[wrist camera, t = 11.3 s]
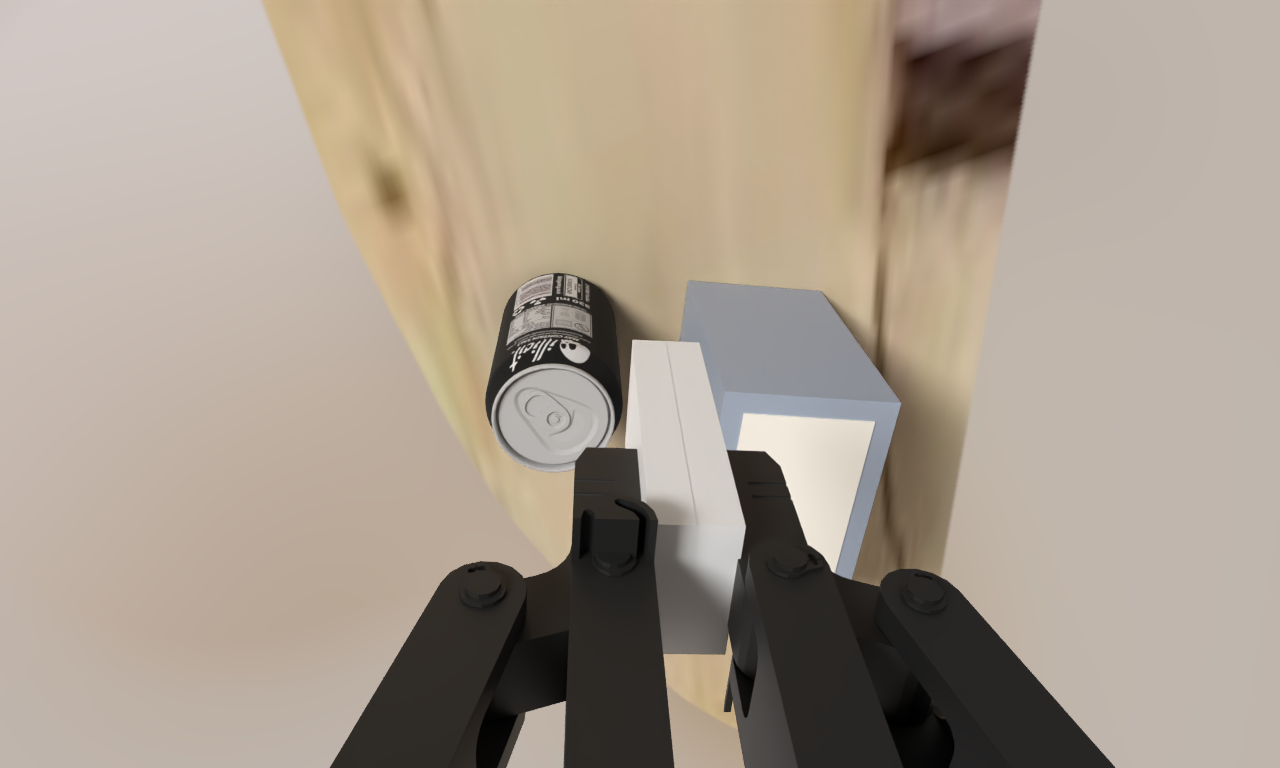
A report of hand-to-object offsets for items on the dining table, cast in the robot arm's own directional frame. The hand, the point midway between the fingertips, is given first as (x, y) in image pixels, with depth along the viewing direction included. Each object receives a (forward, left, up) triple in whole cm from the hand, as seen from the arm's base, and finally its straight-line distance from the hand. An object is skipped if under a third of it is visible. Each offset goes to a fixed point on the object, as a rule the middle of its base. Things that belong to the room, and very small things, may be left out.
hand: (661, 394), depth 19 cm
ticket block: (+3, +16, -29) cm, 33 cm away
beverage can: (+9, +6, -29) cm, 31 cm away
